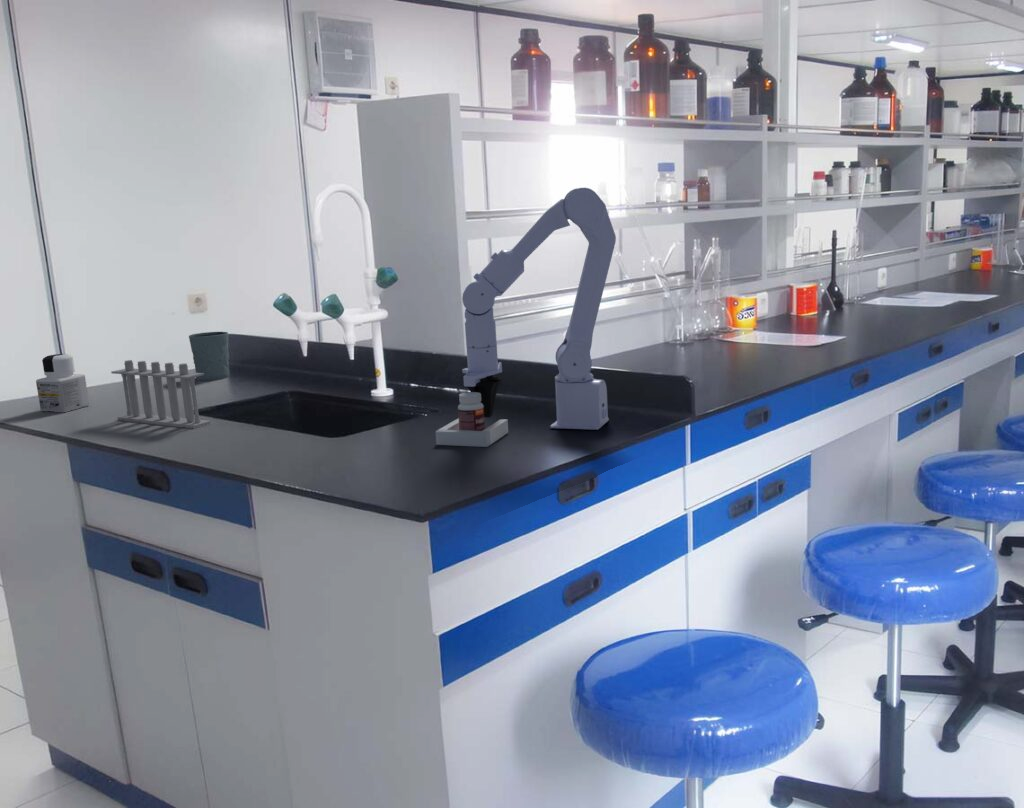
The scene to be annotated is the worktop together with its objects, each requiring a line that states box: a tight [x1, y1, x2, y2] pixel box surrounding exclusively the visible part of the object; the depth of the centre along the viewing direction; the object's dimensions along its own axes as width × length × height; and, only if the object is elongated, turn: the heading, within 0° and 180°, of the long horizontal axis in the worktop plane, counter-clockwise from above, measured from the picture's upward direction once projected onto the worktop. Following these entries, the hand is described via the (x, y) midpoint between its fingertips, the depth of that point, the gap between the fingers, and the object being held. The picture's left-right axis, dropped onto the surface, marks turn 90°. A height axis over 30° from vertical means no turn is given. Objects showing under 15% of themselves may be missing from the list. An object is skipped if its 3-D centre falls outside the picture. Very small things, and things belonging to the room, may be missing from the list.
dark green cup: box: [188, 331, 230, 382], centre depth 257 cm, size 10×10×12 cm
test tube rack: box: [110, 359, 211, 429], centre depth 203 cm, size 25×4×13 cm, turn 59°
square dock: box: [435, 417, 509, 448], centre depth 175 cm, size 10×10×2 cm
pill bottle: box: [457, 391, 486, 431], centre depth 174 cm, size 5×5×8 cm
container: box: [35, 353, 90, 413], centre depth 224 cm, size 8×8×13 cm
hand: (486, 416), depth 180 cm, fingers closed
